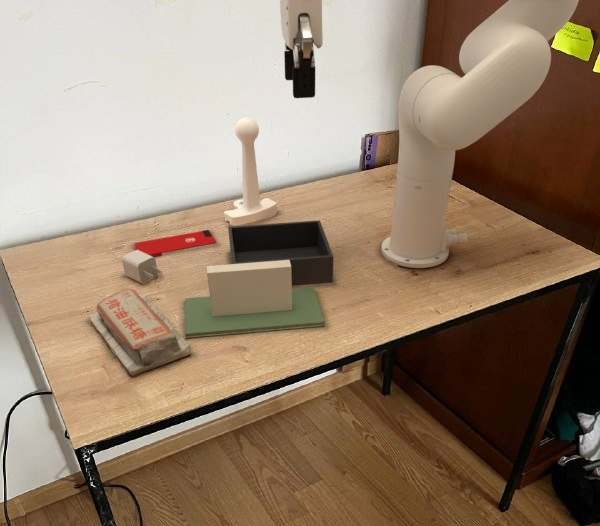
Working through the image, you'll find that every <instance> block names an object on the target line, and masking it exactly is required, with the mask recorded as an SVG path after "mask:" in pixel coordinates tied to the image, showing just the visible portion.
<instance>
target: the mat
mask: <svg viewBox="0 0 600 526" xmlns="http://www.w3.org/2000/svg"><path fill="white" fill-rule="evenodd" d="M324 327H325V319H324V315H323V312H322V309H321V306H320V303H319V299H318V296H317V292H316V289H315V287H308V288H297V289H292V310H287V311H275V312H263V313H251V314H239V315H227V316H215V317H213V316H212V310H211V302H210V295H209V296H198V297H197V296H196V297H186V298H185V299H184V336H185V339H186V340H189V339H202V338H213V337H224V336H236V335H247V334H259V333H260V334H261V333H270V332H280V331H281V332H282V331H292V330H304V329H305V330H306V329H317V328H324Z"/></svg>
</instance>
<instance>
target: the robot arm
mask: <svg viewBox="0 0 600 526" xmlns="http://www.w3.org/2000/svg"><path fill="white" fill-rule="evenodd" d="M579 1H580V0H508V1H506V2H505V3H504V4H502V6H500V7H499V8H498V9H497V10H496V11H494V12H493V13H492V14H491V15H490V16H488V17H487V18H486V19H485V20H484V21H482V22H481V23H480V24H478V25H477V27H475V28H474V29H473V30H472V31H471V32H469V34H468V35H467V37H465V39H464V41H463V42H462V44H461V47H460V50H459V55H458V60H459V66H460V69H461V71H462V72H463V74H464V75H463V76H460V75H458V74H456V73H455V72H454V71H451V70H449V69H448V68H446V67H443V66H441V65H433V64H431V65H425V66H421V67H420V68H418V69H416V70H415V71H413V72H412V73H411V74H410V75H409V76H408V77H407V78H406V80H405V82H404V84H403V86H402V88H401V91H400V95H399V100H398V133H399V139H398V155H397V156H398V157H397V168H396V176H395V188H394V199H393V208H392V219H391V228H390V229H391V230H390V236H388V237H387V238H385V239H383V241H382V242H381V248H380V249H381V250H380V251H381V253H382V255H383V256H384V258H386V259H387V260H388V261H390V262H392V263H394V264H397V265H398V266H400V267H405V268H409V269H427V268H428V269H429V268H433V267H436V266H439V265H441V264H443V263H444V262H446V260H447V259H448V257H449V254H450V248H449V247H451V246H452V245H464V244H467V243H468V241H469V235H468V233H467V232H460V233H458V230H457V228H451V229H450V228H449V229H445V225H446V218H447V211H448V210H447V209H448V205H449V199H450V193H451V185H452V180H453V174H454V167H455V159H456V151H460V150H463V149H465V148H467V147H469V146H470V145H472V144H474V143H475V142H477V141H479V139H481V138H482V137H484V136H485V135H486V134H488V133H489V132H490V131H491V130H492V129H494V128H496V126H497V125H499V124H500V123H501V122H503V121H504V120H505V119H506V118H508V117H509V116H510V115H512V114H513V113H514V112H515V111H517V110H518V109H519V108H521V106H523V105H524V104H525V103H526V102H527V101H529V100H530V99H531V98H532V97H533V96H534V95H535V94H536V92H537V91H538V90H539V89H540V88H541V86H542V85H543V83H544V82H545V80H546V77H547V75H548V72H549V71H550V67H551V64H552V63H551V62H552V52H551V46H550V44H549V41H550V40H551V39H553V37H555V36H556V34H557V33H559V32H560V31H561V30H562V29H563V28H564V27H565V26H566V25H567V24H568V22H569V21H570V19H571V18H572V16H573V15H574V13H575V11H576V9H577V7H578V5H579V4H578V3H579ZM279 11H280V27H281V36H282V38H283V40H284V49H285V50H284V53H283V57H284V78H285V81H292V96H293V98H294V99H309V98H314V97H316V64H315V63H316V61H315V60H316V58H315V49H314V46H315V47H316V48H317V49H321V48H322V46H323V43H324V42H323V39H324V38H323V37H324V35H323V0H279Z"/></svg>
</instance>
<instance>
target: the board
mask: <svg viewBox="0 0 600 526" xmlns="http://www.w3.org/2000/svg"><path fill="white" fill-rule="evenodd" d="M206 276H207V277H206V278H207V284H208V293H209V296H210V302H211V310H212V316H213V317H215V316H227V315H239V314H251V313H263V312H275V311H287V310H292V290H293V286H292V276H291V264H290V260H281V261H268V262H254V263H241V264H232V263H231V264H230V263H229V264H216V265H207V266H206Z"/></svg>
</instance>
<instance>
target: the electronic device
mask: <svg viewBox="0 0 600 526" xmlns="http://www.w3.org/2000/svg"><path fill="white" fill-rule="evenodd" d="M214 244H217V240H216V239H215V237H214V236H213V234H212V232H211V230H209V229H205V230H201V231H193V232H189V233H184V234H178V235H172V236H168V237H160V238H155V239H150V240H149V239H148V240H143V241H139V242H135V243H134V247H135V250H139V251H141V252H143V253H146V254H148V255H150V256H152V257H156V256H162V255H163V254H167V253H171V252H176V251H182V250H187V249H194V248H199V247H203V246H208V245H214Z"/></svg>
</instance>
